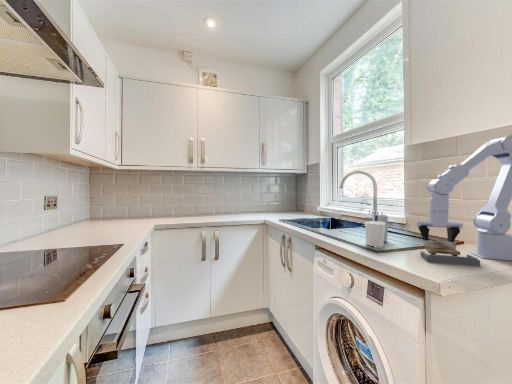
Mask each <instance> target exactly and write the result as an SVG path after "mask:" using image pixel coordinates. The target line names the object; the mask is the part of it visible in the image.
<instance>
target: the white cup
mask: <svg viewBox="0 0 512 384" xmlns="http://www.w3.org/2000/svg"><path fill="white" fill-rule="evenodd" d="M364 224H365V226H364V228H365V230H364V232H365V245H366V244H367V245H370V246H376V247H375V248H383V247H384V244H385V242H384V236H385V224H386V223H384V222H377V221H375V220H374V221H373V220H372V221H371V220H367V221H364ZM367 245H366V246H367ZM370 246H369V247H370ZM382 246H383V247H382Z"/></svg>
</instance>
